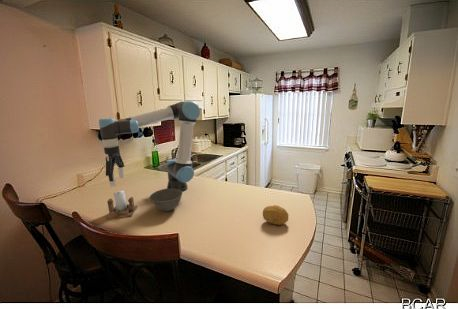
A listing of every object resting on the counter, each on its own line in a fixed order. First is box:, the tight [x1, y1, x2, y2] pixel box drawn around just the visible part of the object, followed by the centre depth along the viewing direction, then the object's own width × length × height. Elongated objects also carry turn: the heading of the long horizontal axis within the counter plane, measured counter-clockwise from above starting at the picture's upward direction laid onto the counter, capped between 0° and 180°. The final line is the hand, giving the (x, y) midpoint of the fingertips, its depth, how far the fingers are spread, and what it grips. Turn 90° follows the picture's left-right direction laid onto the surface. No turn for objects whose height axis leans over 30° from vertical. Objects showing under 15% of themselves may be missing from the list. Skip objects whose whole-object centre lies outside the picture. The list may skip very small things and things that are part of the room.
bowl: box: [149, 188, 183, 212], centre depth 131 cm, size 19×19×10 cm
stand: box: [105, 196, 138, 220], centre depth 129 cm, size 14×12×9 cm
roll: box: [113, 190, 127, 211], centre depth 129 cm, size 6×6×12 cm
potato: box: [262, 204, 289, 226], centre depth 112 cm, size 10×13×9 cm
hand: (117, 181), depth 126 cm, fingers open, 13 cm apart
